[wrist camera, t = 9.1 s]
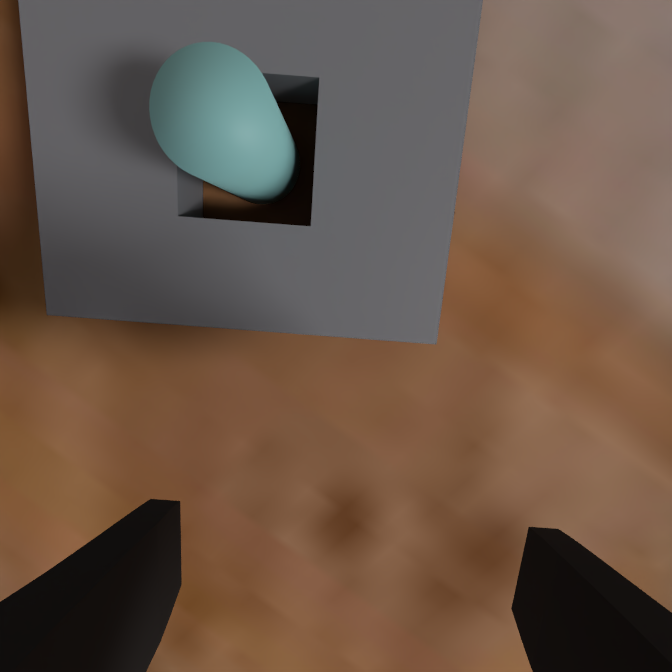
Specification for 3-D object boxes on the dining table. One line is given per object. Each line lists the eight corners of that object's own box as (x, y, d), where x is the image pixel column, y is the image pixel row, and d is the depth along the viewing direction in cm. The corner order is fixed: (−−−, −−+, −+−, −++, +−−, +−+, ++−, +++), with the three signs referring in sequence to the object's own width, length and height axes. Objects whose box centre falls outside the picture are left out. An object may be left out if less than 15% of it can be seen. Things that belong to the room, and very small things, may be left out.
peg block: (90, 304, 17) (47, 315, 14) (67, -33, 14) (9, -92, 12) (422, 329, 17) (436, 344, 14) (464, -2, 14) (490, -54, 12)
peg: (223, 202, 16) (152, 176, 10) (222, 118, 15) (146, 38, 9) (298, 206, 16) (272, 183, 10) (301, 123, 15) (276, 45, 9)
